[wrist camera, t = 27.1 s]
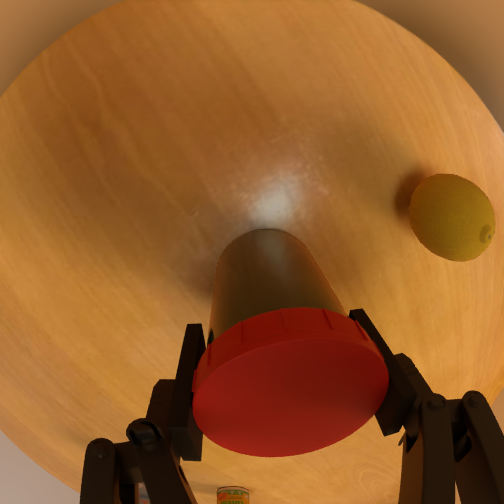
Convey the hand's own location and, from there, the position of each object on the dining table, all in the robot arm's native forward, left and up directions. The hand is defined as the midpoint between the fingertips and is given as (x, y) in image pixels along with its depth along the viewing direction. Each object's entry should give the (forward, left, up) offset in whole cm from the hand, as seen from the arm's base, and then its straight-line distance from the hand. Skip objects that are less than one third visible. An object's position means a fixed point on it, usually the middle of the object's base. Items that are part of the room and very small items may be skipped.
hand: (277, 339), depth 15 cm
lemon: (-11, +8, -7) cm, 15 cm away
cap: (0, 0, +5) cm, 5 cm away
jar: (0, 0, -7) cm, 7 cm away
